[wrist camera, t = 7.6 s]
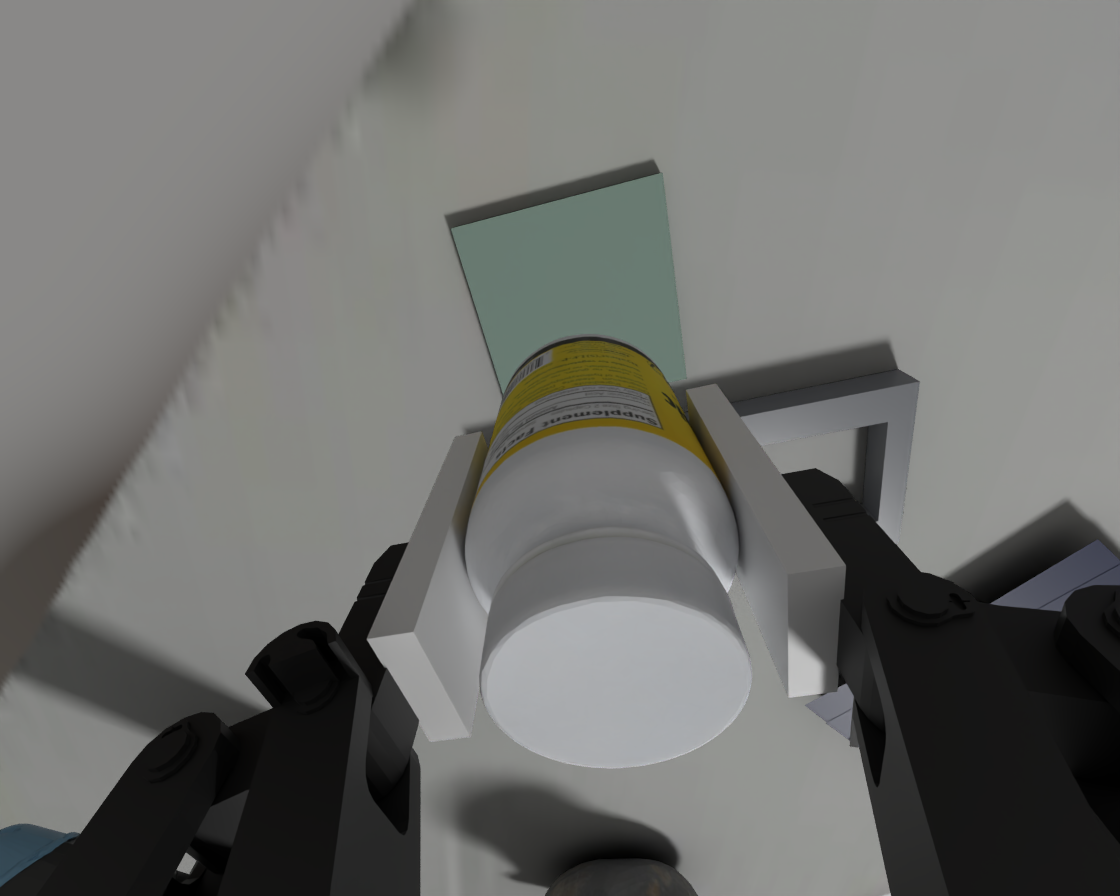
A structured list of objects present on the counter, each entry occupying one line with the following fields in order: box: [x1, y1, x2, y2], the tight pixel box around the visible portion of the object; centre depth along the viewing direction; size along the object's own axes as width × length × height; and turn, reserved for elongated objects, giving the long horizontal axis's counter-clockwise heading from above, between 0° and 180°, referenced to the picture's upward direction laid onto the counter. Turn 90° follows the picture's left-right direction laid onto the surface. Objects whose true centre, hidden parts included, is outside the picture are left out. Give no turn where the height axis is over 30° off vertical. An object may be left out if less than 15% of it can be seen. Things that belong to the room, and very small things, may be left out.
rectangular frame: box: [684, 369, 920, 544], centre depth 33 cm, size 30×12×3 cm, turn 103°
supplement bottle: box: [465, 334, 752, 768], centre depth 11 cm, size 5×5×10 cm
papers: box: [805, 539, 1120, 747], centre depth 42 cm, size 24×30×4 cm
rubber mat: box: [451, 173, 687, 395], centre depth 27 cm, size 11×11×1 cm
